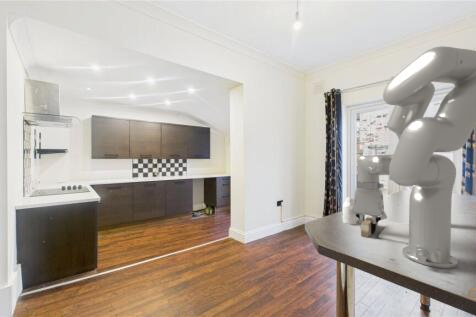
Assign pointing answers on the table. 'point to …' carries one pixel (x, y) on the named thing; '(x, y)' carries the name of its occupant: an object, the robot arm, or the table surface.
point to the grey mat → (396, 232)
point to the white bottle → (349, 212)
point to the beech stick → (367, 226)
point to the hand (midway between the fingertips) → (368, 231)
